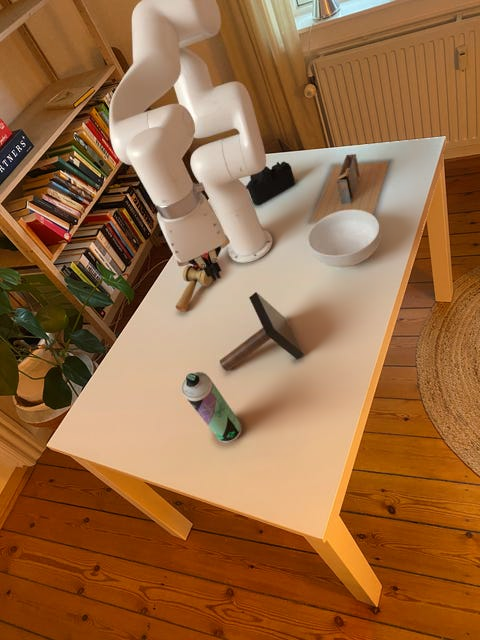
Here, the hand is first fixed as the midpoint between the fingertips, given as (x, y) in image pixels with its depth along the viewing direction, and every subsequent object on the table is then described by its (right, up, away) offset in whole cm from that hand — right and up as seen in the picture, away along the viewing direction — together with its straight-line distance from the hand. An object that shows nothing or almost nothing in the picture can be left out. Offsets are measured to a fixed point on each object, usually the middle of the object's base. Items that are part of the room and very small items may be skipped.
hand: (215, 275), depth 96 cm
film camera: (+14, +31, +52) cm, 62 cm away
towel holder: (+9, -16, +13) cm, 23 cm away
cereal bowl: (+31, +8, +24) cm, 40 cm away
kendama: (-6, 0, +34) cm, 35 cm away
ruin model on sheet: (+36, +27, +39) cm, 60 cm away
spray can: (+3, -31, +3) cm, 32 cm away
